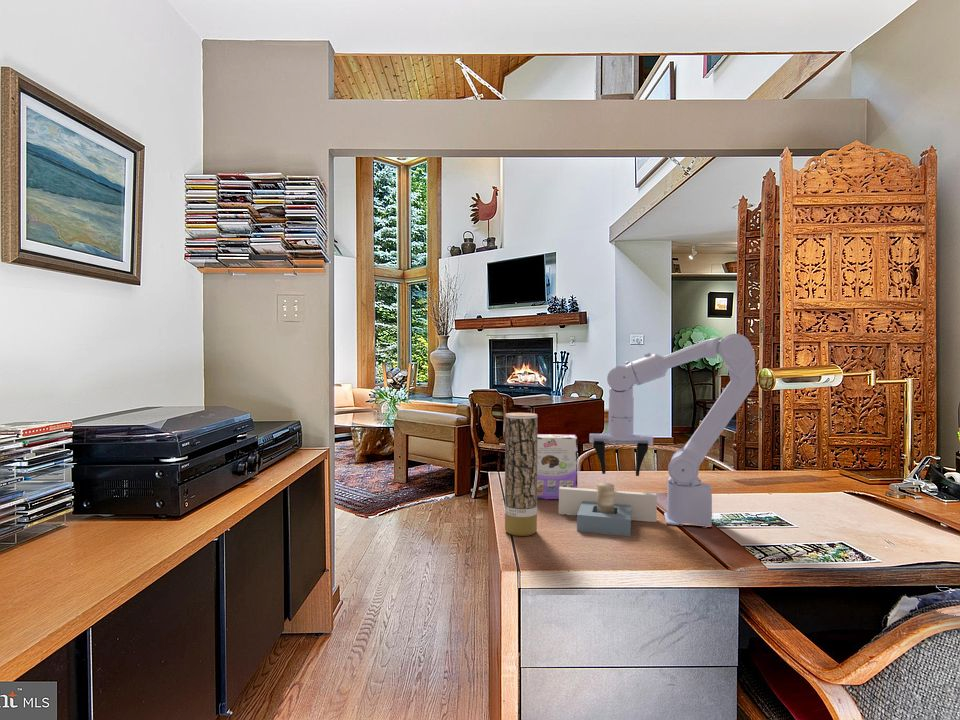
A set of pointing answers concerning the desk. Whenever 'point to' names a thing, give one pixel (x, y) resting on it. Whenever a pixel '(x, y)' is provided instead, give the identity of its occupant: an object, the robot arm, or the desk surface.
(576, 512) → the wall
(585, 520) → the socket block
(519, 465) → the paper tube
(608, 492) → the dowel
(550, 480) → the candy box
